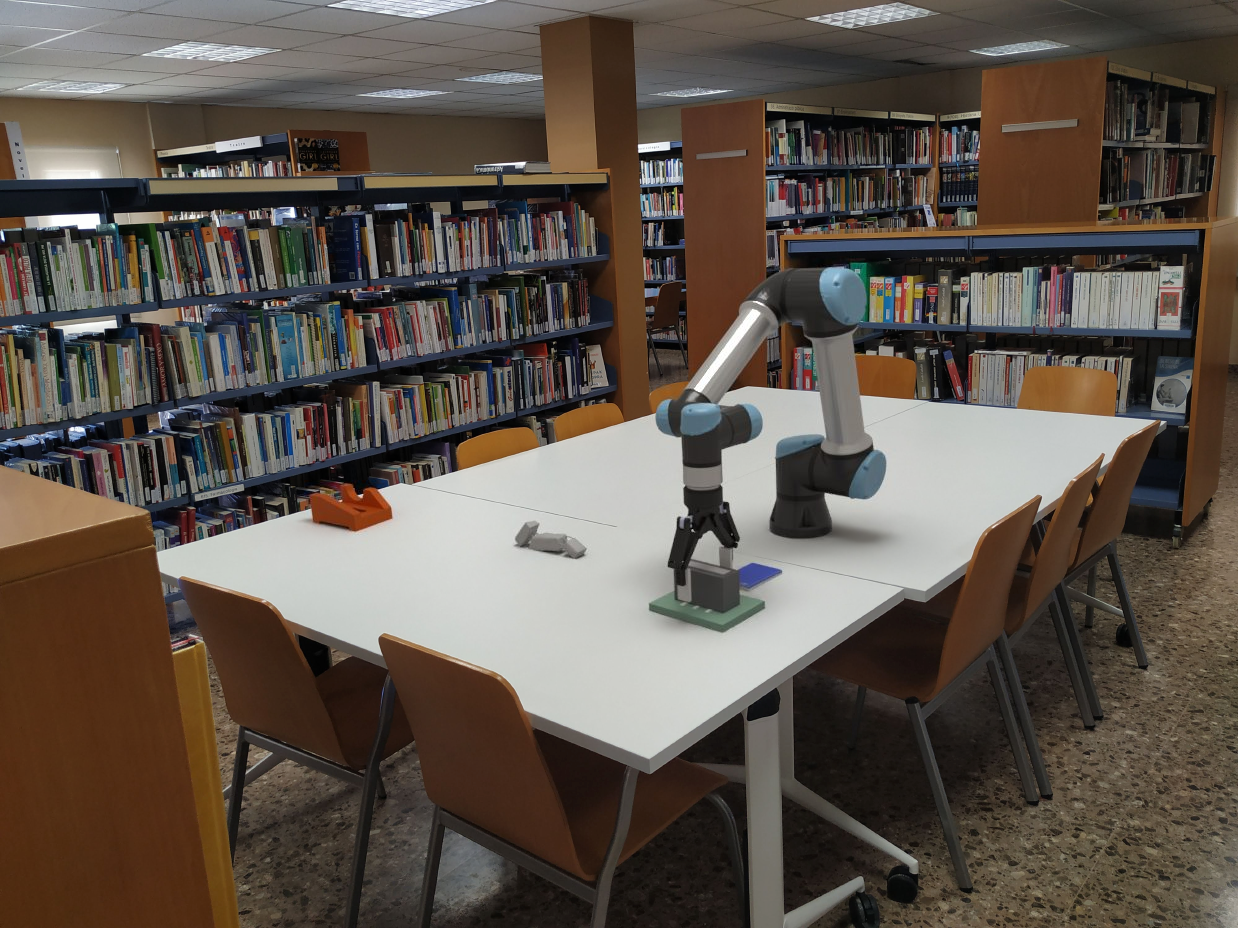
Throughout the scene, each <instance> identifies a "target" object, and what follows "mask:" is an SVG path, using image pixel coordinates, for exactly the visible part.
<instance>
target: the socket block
mask: <svg viewBox="0 0 1238 928" xmlns="http://www.w3.org/2000/svg"><path fill="white" fill-rule="evenodd" d="M682 563H683V562H682ZM687 568H689V569H690V574H691V601H690V602H686V601H683V600H679V599H678V588H677V584H676V570H675V569H673V591H674V599H676V600H679V601H683V602H686V603H690V604H693V605H697V606H700V607H704V608H707V609H711V610H715V611H718V612H722V613H725V612H727V611H728V610H730V609H732V608H734V607H736V606H738V605H740V594H741V591H740V590H741V589H740V571H739V570H738V569H734V568H733V569H731V568H727V567H723V566H720V565H718V564H715V563H709V562H707V561H702V560H697V559H693V558H691V560H690V562H689V565H688V567H687Z"/></svg>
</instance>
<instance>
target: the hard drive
mask: <svg viewBox="0 0 1238 928" xmlns="http://www.w3.org/2000/svg"><path fill="white" fill-rule="evenodd" d="M737 570H739V571H740V590H742V591H744V592H751V591H752V590H754V589H756V588H758V587H760V586H762V585H764V584H765V583H768V582H770V581H771V580H774V579H776V578H778V577H779V576H781V575H783V570H782V569H780V568H777V567H772V566H768V565H765V564H759V563H756V562H750V563H749V564H747V565H744V566H742V567H740V568H738V569H737Z"/></svg>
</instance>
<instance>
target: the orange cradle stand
mask: <svg viewBox="0 0 1238 928" xmlns="http://www.w3.org/2000/svg"><path fill="white" fill-rule="evenodd" d="M339 489H340V495H341V501H340V500H338V499H336V498H333V497H332V496H330V495H328V494H325V493H320V492H314V493H312V494H308V495H309V502H310V510H311V518H312V523H313V524H318V525H320V524H322V523H327V524H332V525H338V526H341V527H342V526H344V527H348V530H349V531H351V532H359V531H361V530H365V529H367V528H370V527H373V526H376V525H378V524H381V523H384V522H387V521H390V520H393V518H394V517H393V510H392V506H391V505H390V504H389V503H388V501H387V500H386V499H385V497H384V496H383V495H382V494H381V493H380V491H379V490H378V489H377V488H375V487H367V488H364V489H363V490H362V491H363V492H362V497H360V496H359V494H357V492H356V491H355V489H354V485H353V484H351V483H344V484H340V485H339Z"/></svg>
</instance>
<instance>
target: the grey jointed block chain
mask: <svg viewBox="0 0 1238 928" xmlns="http://www.w3.org/2000/svg"><path fill="white" fill-rule="evenodd" d="M539 526H540V522H538V521H537V520H531V521H526V522H524V523H523V525H522V527H521V528H520V529H519V531H518V533H517V534H516V535H515V537H514V540H515V541H514V542H516V544H517V545H518V546H521V547H522V546H523V545H526V544H528V543H529V545H528V549H530V550H531V551H532V550H533V551H538V550H539V551H540V552H545V551H555V552H561V551H562V550H564V552H566V553H567V554H568V555H569V556H570V557H571V558H572V559H577V558H579V557H581V556H584V554H585V553H586V551H587V549H588V548H587V547H586V546H585V545H584V544H583V543H582V542H580V541H579V540H578V539H577V538H576V537H572V536H569V535H567V534H566V533H554V532H553V533H552V532H543V533H538V529H539ZM568 538H570V539H568Z"/></svg>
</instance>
